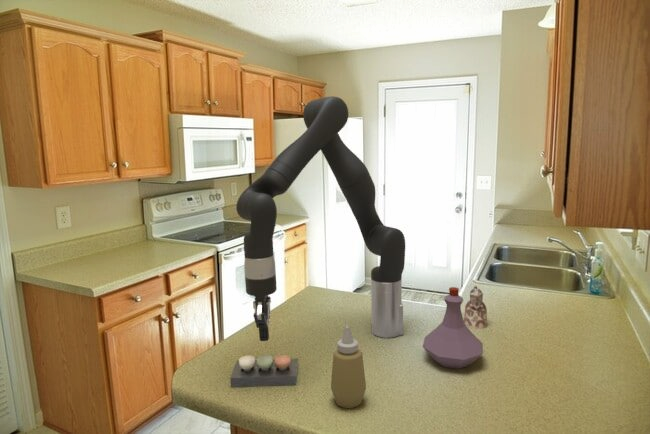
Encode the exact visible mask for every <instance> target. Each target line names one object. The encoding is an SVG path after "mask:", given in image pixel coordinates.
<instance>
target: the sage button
mask: <svg viewBox="0 0 650 434" xmlns="http://www.w3.org/2000/svg"><path fill="white" fill-rule="evenodd" d="M273 359H274V357H273V356H272V355H268V354H263V355H259V356H258V357H257V358H256V360H257V367H259V368H261V371H270V367H271V366H272V365H273Z"/></svg>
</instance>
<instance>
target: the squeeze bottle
mask: <svg viewBox="0 0 650 434" xmlns="http://www.w3.org/2000/svg"><path fill="white" fill-rule="evenodd" d="M336 345H337V346H336V348H337V349H336V350H334V352H333V358H332V367H331V368H332V371H331V381H330V389H331V392H332V394H333V398H334V400H335V402H336V404H337V405H338V406H340V407H341V408H346V409H351V408H356V407H358V406H360V405H361V403H362V402H363V399H364V395H365V393H366V389H367V382H366V374H365V365H364V357H363V352H362V351H361V349H359V342H358V341H357V340H356V339H355V338H353V335H352V330H351V326H350V325H345V326H344V329H343V334H342V338H341V339H339V340H337V344H336Z"/></svg>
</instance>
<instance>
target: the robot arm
mask: <svg viewBox="0 0 650 434" xmlns="http://www.w3.org/2000/svg"><path fill="white" fill-rule="evenodd" d="M302 113H303V115H302V117H303V122H304V125H305V128H306V130H305V131H304V132H303V133H302V134H301V135H299V137H298V138H296V139H295V140H294V141H293V142H292V143H291V144H289V145H288V146H287V147H286V148H285V149H283V150H282V151H281V152H280V153H279V154H278V155H277V156H276V157H275V158H274V160H273V161H272V162H271V164H270V165H269V166H267V167H268V168H267V169H266V170H265V172H264V173H263V174H262V175H261V176H260V177H258V178H257V179H256V180H255V181H253V182H252V183H251V184H250V185H249V186H248V187H246V189H244V190H243V192H242V193H241V194H240V195H239V197H238V199H237V201H236V212H237V215H238V216H239V217H240V218H241V219H242V220H246V221H249V222H250V227H249V228H250V231H248V232H246V233H245V234H244V237H243V253H244V262H243V263H244V264H243V266H244V283H245V284H244V285H245V292H246V294H247V295H248V296H253V297H254V300H253V302H252V307H253V309H254V312H253V320H254V322H255V326H256V328H257V329H258V334H259V335H258V336H259V341H260V342H267V341H269V338H270V330H269V326H270V325H269V324H270V318H271V302H272V297H271V296H270V295H272V294H274V293H275V292H276V291H277V273H276V261H275V255H274V241H273V240H274V239H273V237H274V234H275V228H276V222H277V218H278V217H277V215H278V214H277V213H278V211H277V209H278V208H277V204H276V201H275V199H274V198H275V197H277V196H281V195H283V194H284V193H286V192H287V191H288V190H289V189H290V187H291V185H292V184H294V182H295V180H297V178H298V177H299V175H300V174H301V173H302V171H303V170H304V169H305V168H306V166H307V165H308V164H309V163H310V162H311V160H313V158H314V157H315V156H316V155H317V154H318V153H319V152H320V151H321V153H322V154H323V157H324V159H325V160H326V162H327V164H328V166H329V169H330V171H331V172H332V174H333V176H334V178H335V179H336V183H337V185H338V186H339V188H340V191H341V194H342V195H343V197H344V198H345V200H346V202H347V204H348V206H349V208H350V209H351V212H352V214H353V216H354V218H355V220H356V223H357V224H358V227H359V230H360V233H361V237H362V238H363V239H362V240H363V242H364V244H365V247H366V248H367V250H368V251H369V252H370V253H372V254H373V255H376V256H379V258H380V259H379V266H378V265H377V266H375V267H372V269H371V270H370V271H371V272H370V285H371V286H370V292H371V293H370V295H371V296H370V297H371V299H370V300H371V302H370V303H371V305H370V306H371V324H370V325H371V326H370V327H371V333H372V334H373V335H374V336H376V337H379V338H385V339H387V338H388V339H389V338H396V337H399V336H403V335H404V305H403V303H402V302H403V301H402V298H403V297H402V289H403V288H402V287H403V286H402V284H403V283H402V281H403V280H402V277H403V276H402V275H403V273H404V270H405V263H406V262H405V259H406V239H405V234H404V233H403V231H402V230H401V229H398V228H396V227H392V226H387V225H385V224H384V223H383V222H382V220H381V218H380V216H379V214H378V212H377V210H376V209H377V208H376V185H375V182H374V180H373V179H372V176H371V174H370V172H369V170H368V168H367V166H366V164H365V163H364V162H363V161H362V160H361V159H360V157H358V155H356V154H355V153H354V152H353V151H352V150H351V149H350V148H349V147H348V146H347V144H345V143H344V141H343V140H342V138H341V136H340V134H339V133H340V131H341V130H343V128H344V127H345V126H346V124H347V123H348V120H349V108H348V105H347V104H346V101H344V100H343V99H342V98H341V97H338V96H326V97H321V98H320V97H319V98H317V99H312V100H311V101H309V102H307V103H306V104H305V106H304V108H303V112H302Z"/></svg>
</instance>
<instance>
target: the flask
mask: <svg viewBox="0 0 650 434" xmlns="http://www.w3.org/2000/svg"><path fill="white" fill-rule="evenodd" d="M459 290H460V288H459V287H455V286H451V287H449V288H448V291H449V294H447V295H444V297H443V298H444V302H445V304H446V307H445V308H446V310H445V313H444V316H443V319H442V321H441V323H440V324H438V326H436V328H434V329H433V330H432V331H430V333H428V334H427V335H426V336H425V337H424V340H423V343H422V348H423V350H425V351H426V352H427V354H428V355H429V356H430V357H431V358H432V360H434V361H435V362H437V363H438V364H439V365H441V366H442V367H444V368H451V369H458V370H459V369H462V368H465V367H468V366H470V365H471V364H473V363H474V362H475V361H476V360H478V359H479V358H480V357H481V356H482V355H483V354H484V347H483V344H484V343H483V342H482V341H481V340H480V339H479V338H478V337H477V336H476V335H475V334H474V333H473V332H472V331H471V330H470V329H469V327H468V326H466V325H465V324H464V316H463V313H462V308H461V305H462V304H463V302H464V298H463V297H462V296H460V295H459Z"/></svg>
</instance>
